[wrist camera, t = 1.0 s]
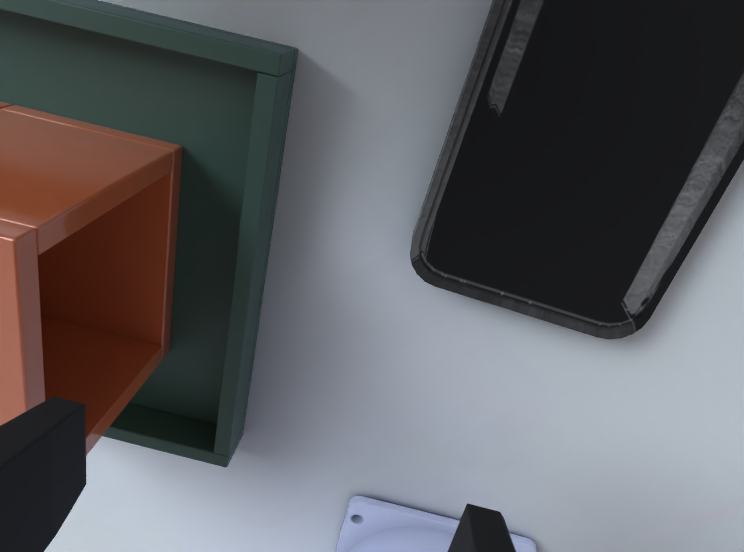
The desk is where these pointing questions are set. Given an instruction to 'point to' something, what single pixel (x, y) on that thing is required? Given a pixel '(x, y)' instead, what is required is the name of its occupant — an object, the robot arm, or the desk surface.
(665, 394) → the desk surface
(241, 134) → the tray
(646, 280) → the phone
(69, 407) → the robot arm
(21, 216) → the planter
